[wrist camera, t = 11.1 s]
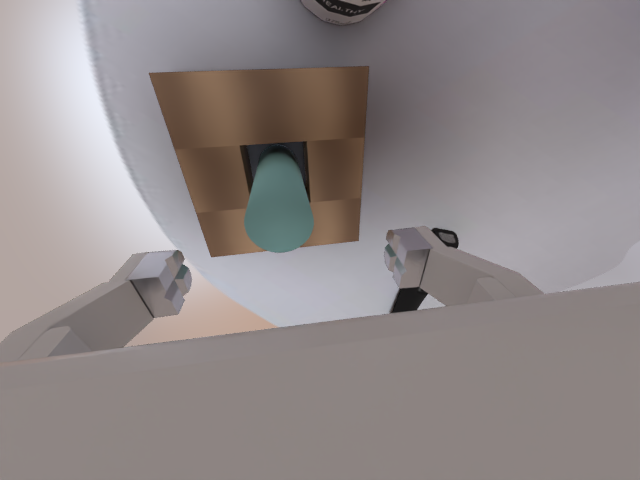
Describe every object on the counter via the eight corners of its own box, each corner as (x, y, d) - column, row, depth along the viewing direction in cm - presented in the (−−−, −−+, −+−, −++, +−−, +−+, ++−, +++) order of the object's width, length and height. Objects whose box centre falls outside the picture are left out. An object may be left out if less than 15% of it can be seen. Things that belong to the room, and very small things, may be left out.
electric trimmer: (381, 313, 37) (389, 330, 34) (430, 226, 29) (445, 240, 27) (403, 314, 38) (412, 331, 35) (455, 230, 30) (471, 244, 28)
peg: (295, 143, 22) (312, 188, 12) (299, 181, 24) (315, 248, 14) (255, 146, 22) (237, 194, 12) (262, 185, 24) (251, 256, 13)
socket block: (353, 70, 20) (369, 66, 16) (348, 222, 27) (358, 240, 24) (172, 76, 18) (148, 72, 15) (219, 235, 26) (211, 257, 22)
